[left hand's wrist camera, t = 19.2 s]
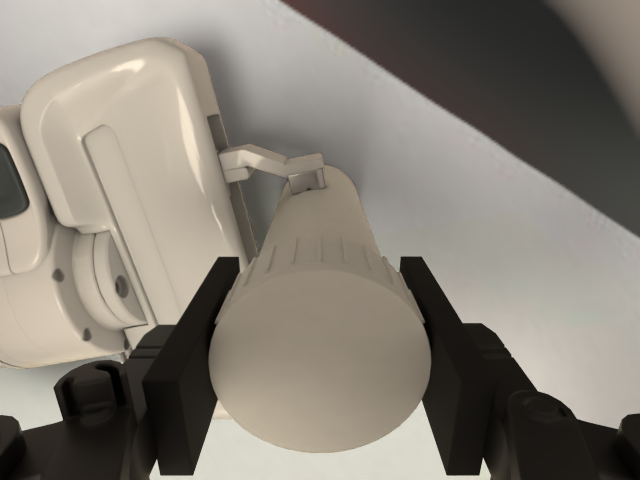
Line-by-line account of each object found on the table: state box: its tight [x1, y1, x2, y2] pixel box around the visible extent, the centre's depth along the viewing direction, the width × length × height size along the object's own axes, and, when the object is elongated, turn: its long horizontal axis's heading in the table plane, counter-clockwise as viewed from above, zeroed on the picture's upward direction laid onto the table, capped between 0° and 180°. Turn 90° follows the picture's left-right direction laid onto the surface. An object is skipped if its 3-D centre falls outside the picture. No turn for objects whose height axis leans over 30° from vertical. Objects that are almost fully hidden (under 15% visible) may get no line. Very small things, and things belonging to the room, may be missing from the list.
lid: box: [208, 235, 431, 453], centre depth 11 cm, size 6×6×2 cm
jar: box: [259, 165, 380, 256], centre depth 19 cm, size 5×5×16 cm
